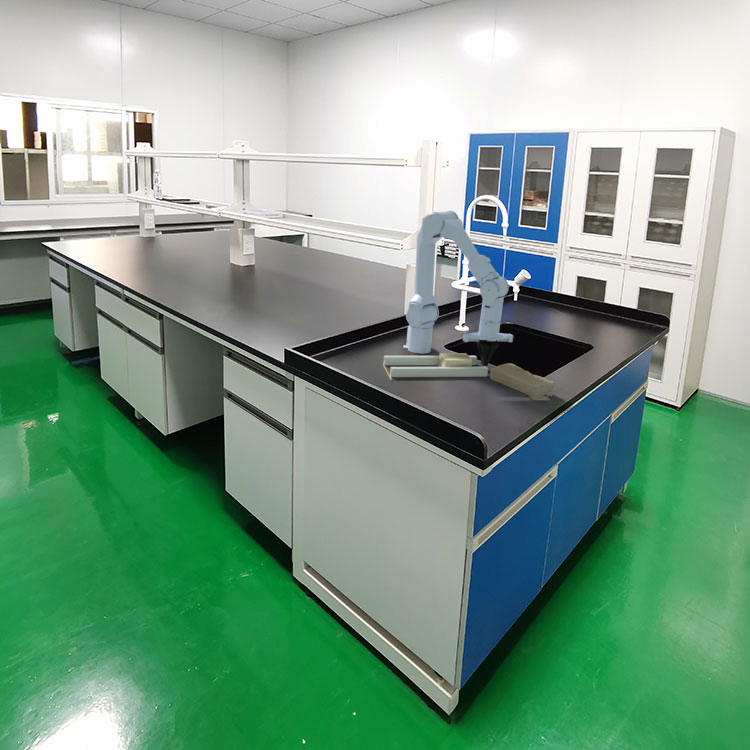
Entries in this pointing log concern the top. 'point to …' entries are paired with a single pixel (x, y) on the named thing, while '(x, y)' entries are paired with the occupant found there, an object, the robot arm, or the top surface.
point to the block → (454, 360)
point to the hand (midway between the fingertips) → (484, 364)
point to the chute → (429, 370)
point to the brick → (522, 381)
